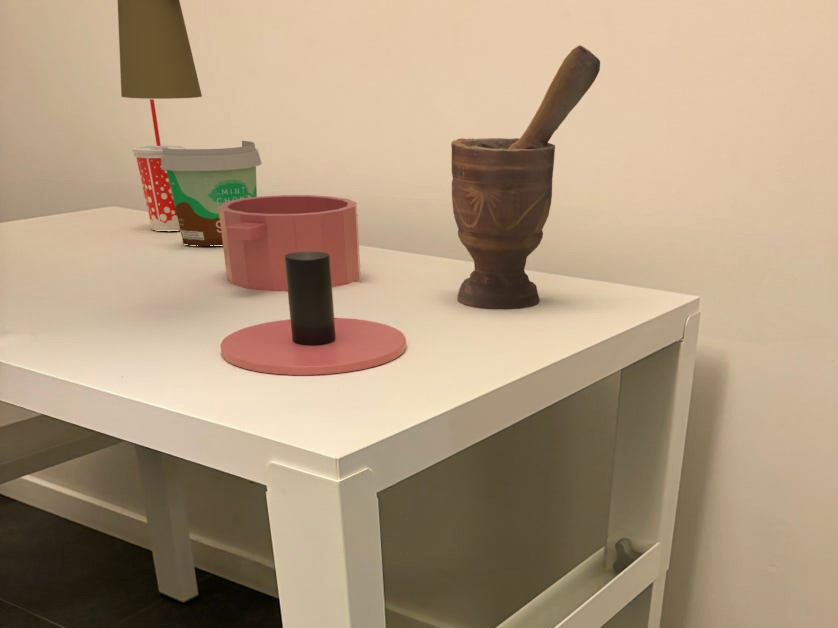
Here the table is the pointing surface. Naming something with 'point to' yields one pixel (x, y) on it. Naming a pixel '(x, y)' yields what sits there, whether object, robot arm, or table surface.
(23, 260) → the table surface
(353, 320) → the lid
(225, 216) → the pot
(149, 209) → the beverage cup
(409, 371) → the table surface
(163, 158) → the food container
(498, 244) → the mortar and pestle
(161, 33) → the cork
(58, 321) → the table surface
